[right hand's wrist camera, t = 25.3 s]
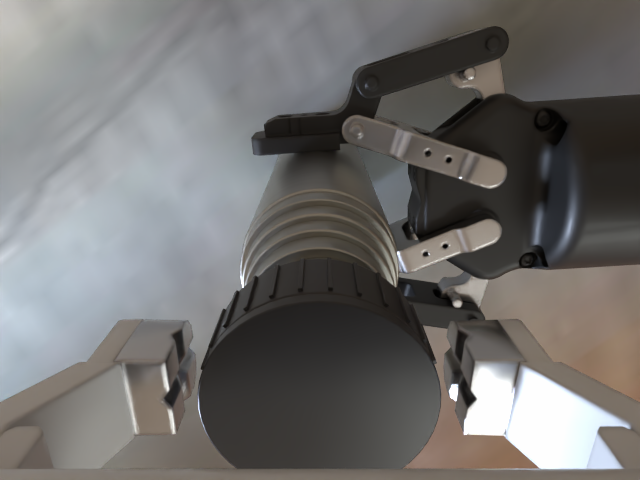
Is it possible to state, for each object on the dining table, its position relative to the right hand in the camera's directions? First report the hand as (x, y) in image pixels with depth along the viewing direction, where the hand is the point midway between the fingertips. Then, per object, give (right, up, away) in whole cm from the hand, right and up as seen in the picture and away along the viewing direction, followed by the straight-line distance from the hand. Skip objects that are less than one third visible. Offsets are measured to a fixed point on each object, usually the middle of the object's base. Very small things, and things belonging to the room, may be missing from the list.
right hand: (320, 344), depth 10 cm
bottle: (0, +7, +16) cm, 18 cm away
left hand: (-3, +4, +10) cm, 11 cm away
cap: (0, -1, -2) cm, 2 cm away
